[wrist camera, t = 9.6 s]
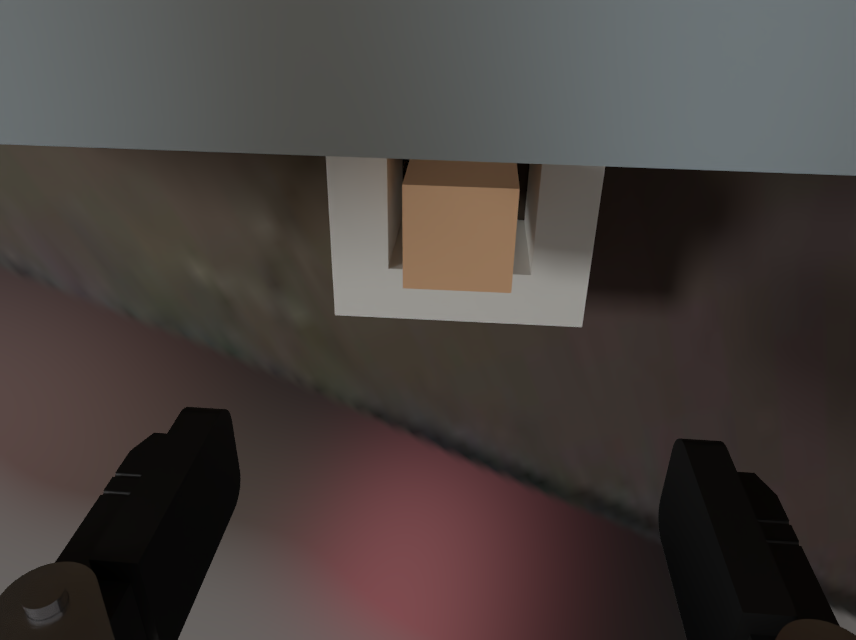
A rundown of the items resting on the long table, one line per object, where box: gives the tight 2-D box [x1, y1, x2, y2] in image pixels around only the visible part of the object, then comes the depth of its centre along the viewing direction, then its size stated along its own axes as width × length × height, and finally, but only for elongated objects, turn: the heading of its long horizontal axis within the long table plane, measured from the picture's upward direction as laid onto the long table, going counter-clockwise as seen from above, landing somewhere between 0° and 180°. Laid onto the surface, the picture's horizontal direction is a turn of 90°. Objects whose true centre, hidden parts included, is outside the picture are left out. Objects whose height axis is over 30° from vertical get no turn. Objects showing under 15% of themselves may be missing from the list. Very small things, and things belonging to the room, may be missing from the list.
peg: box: [402, 159, 520, 293], centre depth 23 cm, size 3×3×10 cm
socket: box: [326, 156, 605, 327], centre depth 26 cm, size 9×9×5 cm
